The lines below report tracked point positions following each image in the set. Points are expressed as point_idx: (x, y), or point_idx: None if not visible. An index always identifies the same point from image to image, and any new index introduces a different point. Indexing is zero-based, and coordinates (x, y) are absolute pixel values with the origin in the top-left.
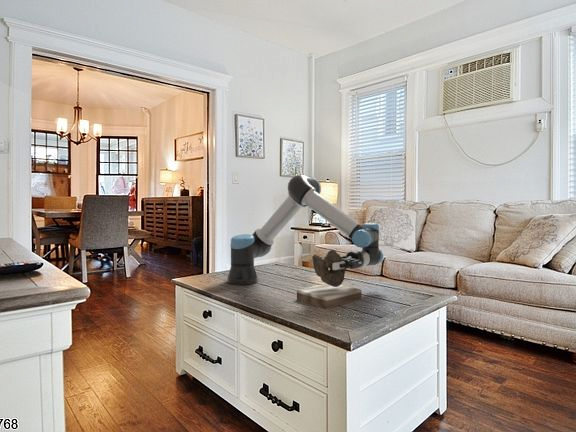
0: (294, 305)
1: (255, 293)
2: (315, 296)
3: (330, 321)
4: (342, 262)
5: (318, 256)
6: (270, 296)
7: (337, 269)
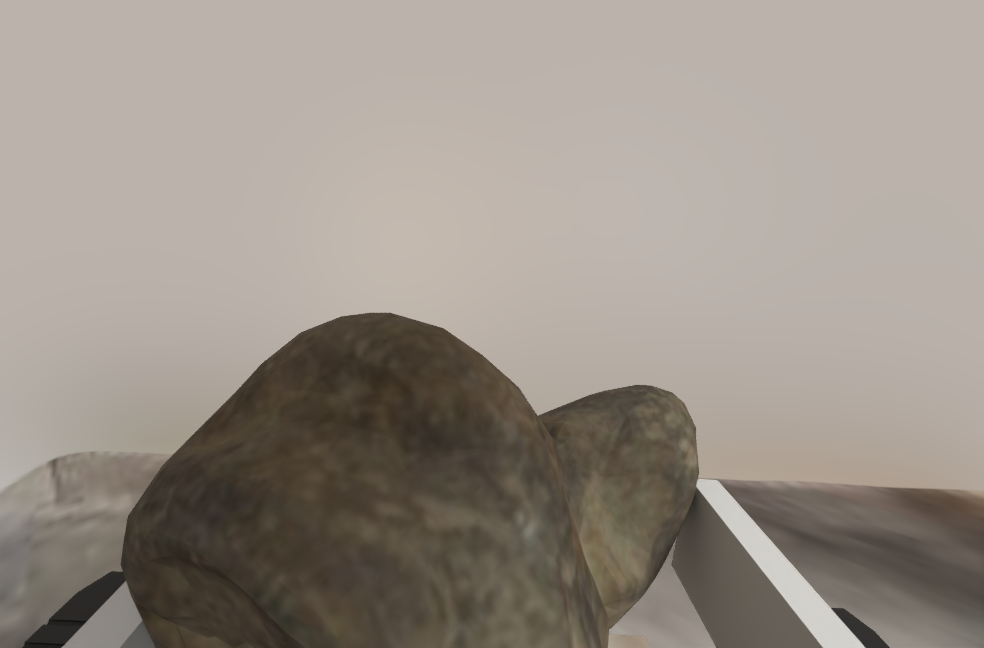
0: None
1: (883, 601)
2: None
3: None
4: (81, 639)
5: (594, 410)
6: None
7: None
